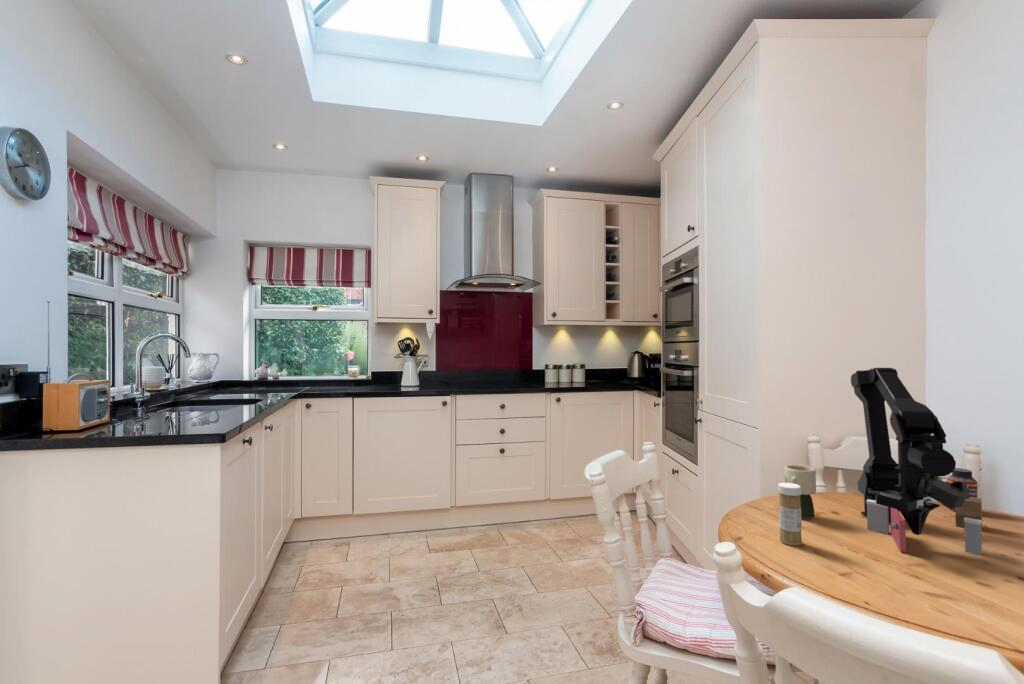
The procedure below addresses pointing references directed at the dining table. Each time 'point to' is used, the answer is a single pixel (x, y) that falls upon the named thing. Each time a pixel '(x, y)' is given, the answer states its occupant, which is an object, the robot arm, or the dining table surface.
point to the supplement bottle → (964, 480)
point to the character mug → (803, 486)
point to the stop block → (969, 511)
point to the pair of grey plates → (880, 523)
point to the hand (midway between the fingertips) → (916, 534)
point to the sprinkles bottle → (790, 513)
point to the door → (898, 529)
